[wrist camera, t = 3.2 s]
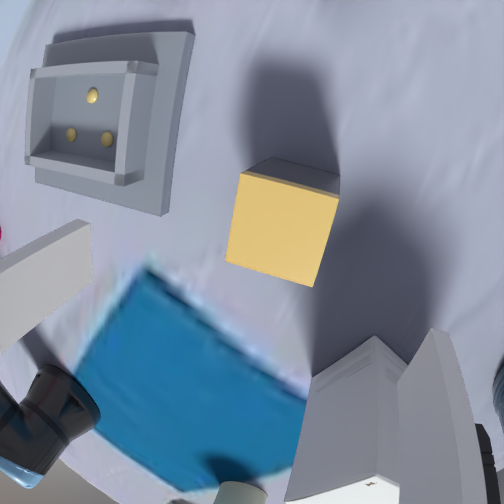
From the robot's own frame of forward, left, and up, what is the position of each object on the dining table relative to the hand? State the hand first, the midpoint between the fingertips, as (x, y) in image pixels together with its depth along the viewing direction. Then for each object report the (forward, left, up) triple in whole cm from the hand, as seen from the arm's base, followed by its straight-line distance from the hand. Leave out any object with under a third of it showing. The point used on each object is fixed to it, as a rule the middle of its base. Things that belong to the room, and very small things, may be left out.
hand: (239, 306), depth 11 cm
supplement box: (-16, -12, -16) cm, 26 cm away
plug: (0, 0, -16) cm, 16 cm away
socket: (+4, +20, -16) cm, 26 cm away
